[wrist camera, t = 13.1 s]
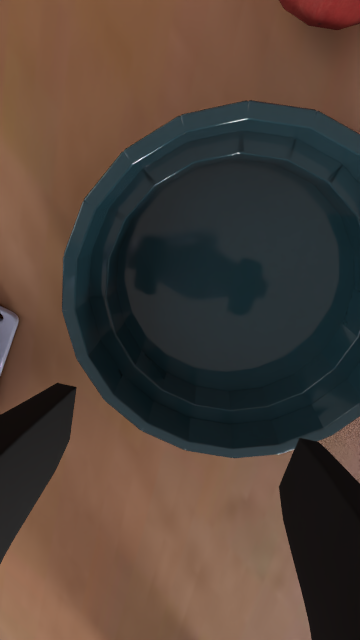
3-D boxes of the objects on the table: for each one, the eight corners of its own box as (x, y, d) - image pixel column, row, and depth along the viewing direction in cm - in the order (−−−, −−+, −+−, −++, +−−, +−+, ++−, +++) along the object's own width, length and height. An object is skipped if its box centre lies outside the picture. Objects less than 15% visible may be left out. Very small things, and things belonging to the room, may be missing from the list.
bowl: (57, 340, 20) (19, 376, 16) (164, 65, 15) (149, 13, 11) (278, 442, 22) (296, 500, 17) (442, 220, 17) (524, 226, 12)
